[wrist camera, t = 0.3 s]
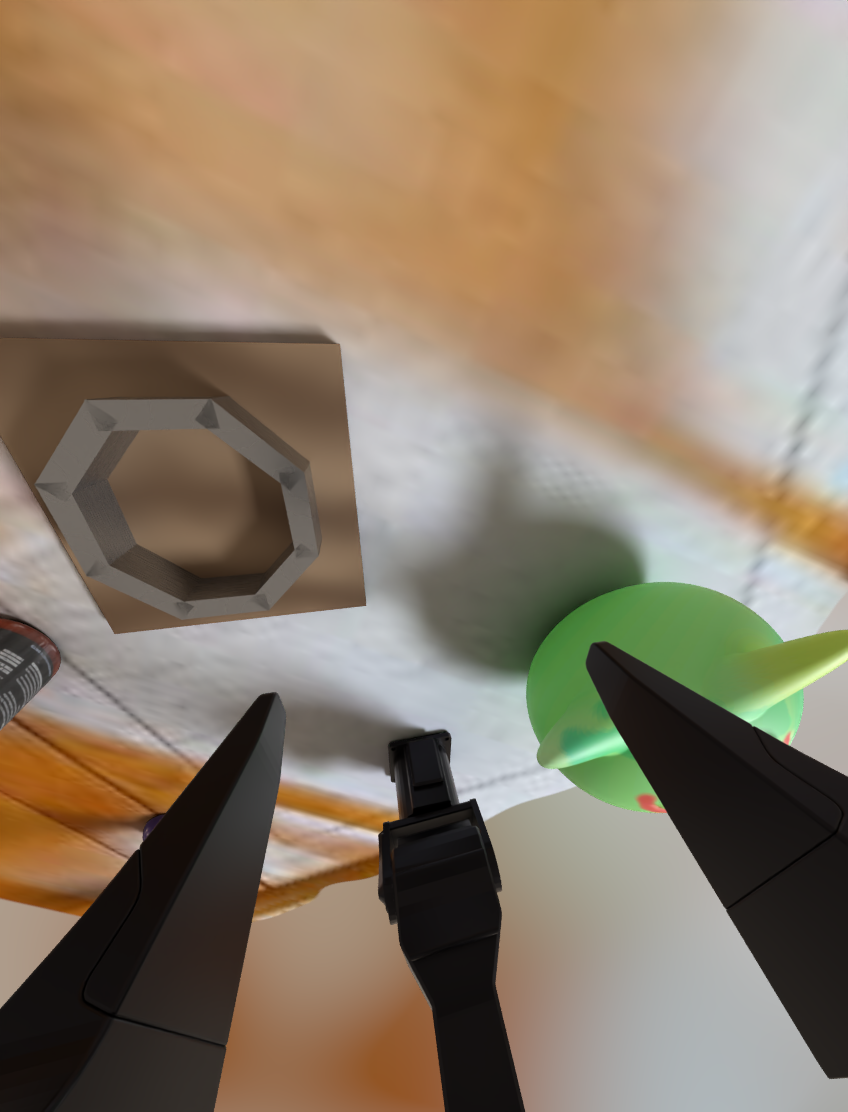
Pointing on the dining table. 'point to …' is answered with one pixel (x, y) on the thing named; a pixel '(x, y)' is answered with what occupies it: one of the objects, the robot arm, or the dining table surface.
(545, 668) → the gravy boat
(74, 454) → the ring
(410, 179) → the dining table surface
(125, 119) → the dining table surface
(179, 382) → the stand
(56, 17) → the dining table surface
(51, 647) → the supplement bottle
